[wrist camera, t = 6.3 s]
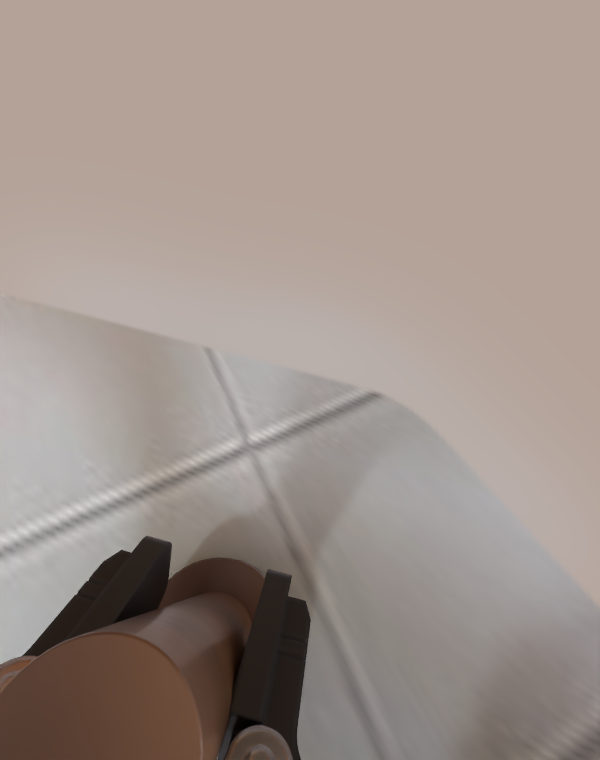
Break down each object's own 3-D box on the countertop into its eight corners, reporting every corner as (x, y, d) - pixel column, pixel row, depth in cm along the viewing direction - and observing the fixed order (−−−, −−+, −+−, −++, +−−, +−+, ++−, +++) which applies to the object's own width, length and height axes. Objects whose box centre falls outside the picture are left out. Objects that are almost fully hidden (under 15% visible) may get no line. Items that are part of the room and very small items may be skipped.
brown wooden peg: (268, 542, 15) (245, 504, 6) (302, 695, 13) (348, 1018, 4) (141, 580, 15) (-119, 605, 5) (153, 749, 12) (-260, 1332, 3)
